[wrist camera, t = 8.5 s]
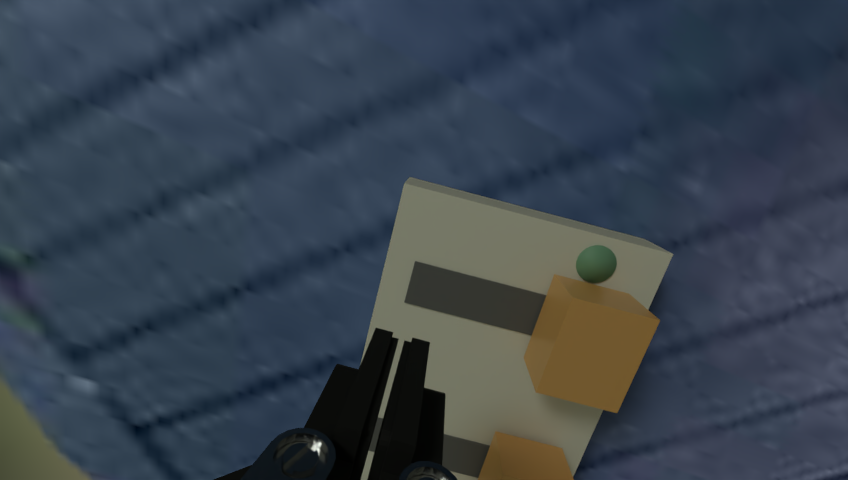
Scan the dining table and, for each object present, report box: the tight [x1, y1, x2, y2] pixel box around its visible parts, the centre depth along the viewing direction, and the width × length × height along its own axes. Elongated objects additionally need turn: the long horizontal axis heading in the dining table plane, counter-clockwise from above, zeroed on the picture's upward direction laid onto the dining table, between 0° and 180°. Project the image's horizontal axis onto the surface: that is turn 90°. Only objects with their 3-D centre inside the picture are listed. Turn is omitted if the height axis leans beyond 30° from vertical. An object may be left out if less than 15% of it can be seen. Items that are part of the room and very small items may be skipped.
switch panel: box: [361, 177, 673, 480], centre depth 24 cm, size 14×20×3 cm
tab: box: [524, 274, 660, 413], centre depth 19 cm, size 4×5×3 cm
